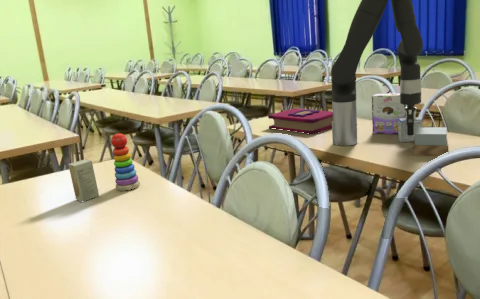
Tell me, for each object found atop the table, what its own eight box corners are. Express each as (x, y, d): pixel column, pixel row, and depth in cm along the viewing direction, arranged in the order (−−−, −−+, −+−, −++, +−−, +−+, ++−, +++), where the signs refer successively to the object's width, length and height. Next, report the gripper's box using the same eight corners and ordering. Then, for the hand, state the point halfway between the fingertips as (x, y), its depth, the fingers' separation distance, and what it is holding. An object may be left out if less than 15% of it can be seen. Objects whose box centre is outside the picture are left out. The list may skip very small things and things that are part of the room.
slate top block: (414, 145, 155) (414, 133, 154) (416, 137, 164) (416, 127, 163) (446, 145, 151) (446, 134, 150) (446, 138, 160) (446, 127, 159)
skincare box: (93, 193, 147) (86, 158, 144) (99, 196, 144) (93, 160, 141) (74, 200, 142) (67, 163, 139) (80, 203, 139) (73, 165, 136)
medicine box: (418, 138, 176) (418, 116, 174) (422, 141, 172) (422, 119, 170) (397, 139, 177) (397, 118, 175) (400, 142, 173) (400, 120, 171)
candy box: (408, 131, 188) (409, 92, 183) (405, 135, 183) (405, 95, 179) (375, 130, 195) (375, 92, 191) (371, 133, 190) (371, 95, 186)
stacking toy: (129, 182, 155) (120, 129, 150) (145, 185, 151) (136, 131, 146) (111, 189, 149) (101, 135, 144) (127, 193, 145) (117, 137, 140)
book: (296, 120, 231) (295, 106, 230) (341, 125, 211) (340, 110, 209) (267, 129, 218) (266, 114, 216) (313, 135, 198) (312, 118, 196)
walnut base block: (413, 156, 156) (413, 145, 155) (413, 148, 165) (413, 137, 164) (448, 157, 152) (448, 146, 150) (446, 148, 161) (446, 137, 160)
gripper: (400, 88, 177) (401, 128, 181) (399, 94, 164) (399, 137, 169) (421, 87, 174) (421, 128, 178) (421, 93, 162) (421, 137, 166)
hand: (410, 132), depth 173 cm, fingers open, 8 cm apart
